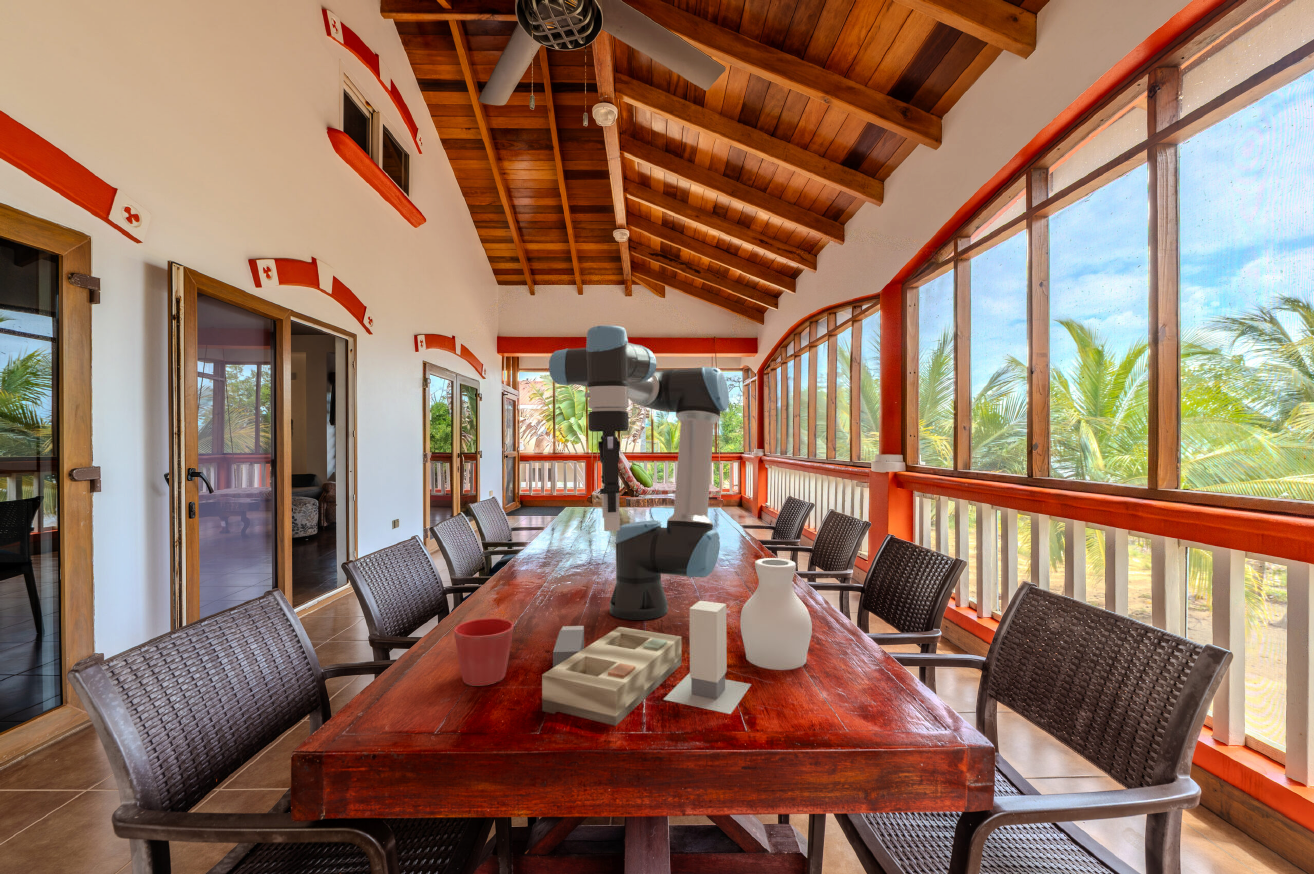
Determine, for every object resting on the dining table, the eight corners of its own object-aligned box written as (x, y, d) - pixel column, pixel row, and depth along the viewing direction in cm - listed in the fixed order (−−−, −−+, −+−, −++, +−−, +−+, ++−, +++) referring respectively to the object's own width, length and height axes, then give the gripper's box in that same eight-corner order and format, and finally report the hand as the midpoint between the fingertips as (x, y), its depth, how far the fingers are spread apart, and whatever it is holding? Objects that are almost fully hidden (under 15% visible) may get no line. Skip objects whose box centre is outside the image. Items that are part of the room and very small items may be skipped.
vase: (726, 661, 113) (725, 562, 113) (764, 642, 124) (763, 551, 124) (789, 682, 104) (788, 573, 104) (825, 659, 114) (824, 561, 114)
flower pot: (495, 661, 114) (495, 613, 114) (524, 677, 106) (524, 626, 106) (444, 677, 107) (444, 626, 107) (471, 696, 99) (471, 640, 99)
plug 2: (700, 683, 102) (699, 600, 102) (726, 688, 100) (726, 603, 100) (690, 694, 98) (689, 608, 98) (717, 700, 95) (716, 611, 95)
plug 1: (561, 648, 121) (561, 625, 121) (585, 647, 122) (584, 624, 122) (553, 678, 106) (552, 652, 106) (579, 677, 107) (579, 651, 107)
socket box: (619, 655, 117) (619, 624, 117) (681, 667, 111) (681, 634, 111) (542, 710, 93) (542, 671, 93) (615, 729, 87) (615, 687, 87)
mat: (689, 675, 107) (689, 672, 107) (751, 687, 102) (751, 684, 102) (663, 702, 96) (663, 699, 96) (730, 717, 91) (730, 713, 91)
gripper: (588, 411, 117) (590, 513, 117) (587, 408, 92) (590, 537, 93) (624, 411, 118) (626, 512, 118) (633, 408, 93) (636, 535, 94)
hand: (610, 523), depth 106 cm, fingers open, 13 cm apart
